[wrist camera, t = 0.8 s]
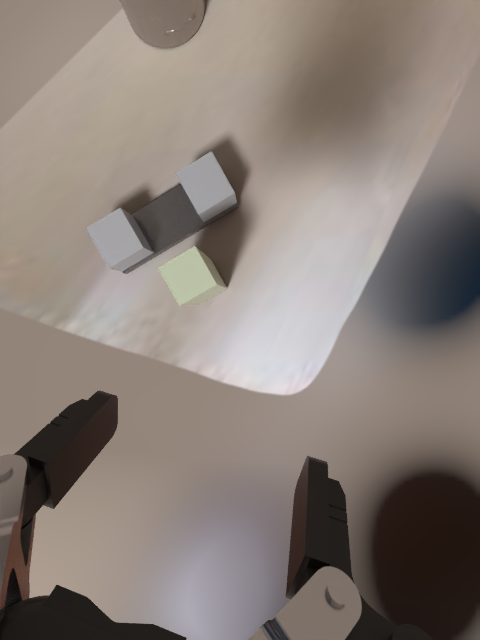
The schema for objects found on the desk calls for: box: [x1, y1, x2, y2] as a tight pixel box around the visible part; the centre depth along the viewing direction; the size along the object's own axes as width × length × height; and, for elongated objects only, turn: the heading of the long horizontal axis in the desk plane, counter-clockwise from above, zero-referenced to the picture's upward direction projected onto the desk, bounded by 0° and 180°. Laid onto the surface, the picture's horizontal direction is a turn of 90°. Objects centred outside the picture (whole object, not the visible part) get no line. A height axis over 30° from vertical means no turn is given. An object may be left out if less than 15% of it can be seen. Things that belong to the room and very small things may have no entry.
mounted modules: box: [86, 151, 237, 271], centre depth 36 cm, size 5×16×4 cm, turn 119°
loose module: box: [158, 246, 227, 306], centre depth 34 cm, size 4×4×10 cm
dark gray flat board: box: [122, 184, 238, 274], centre depth 38 cm, size 6×16×1 cm, turn 119°
